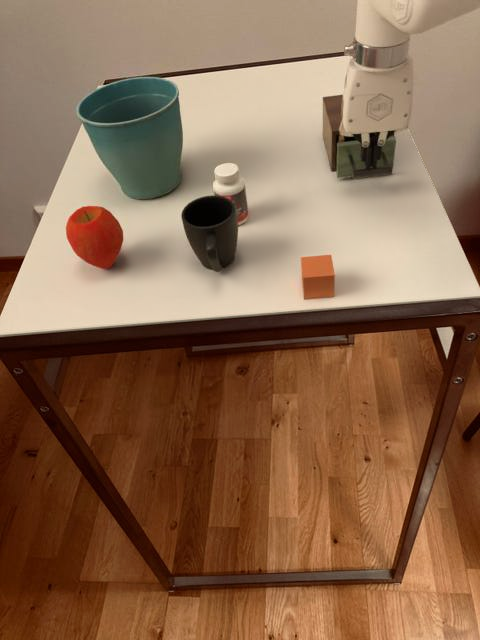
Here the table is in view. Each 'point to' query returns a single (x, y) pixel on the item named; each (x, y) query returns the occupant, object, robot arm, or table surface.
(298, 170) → the table surface
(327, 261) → the block
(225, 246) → the mug
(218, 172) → the pill bottle
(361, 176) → the drawer
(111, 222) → the apple
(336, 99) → the cabinet
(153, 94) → the flower pot
